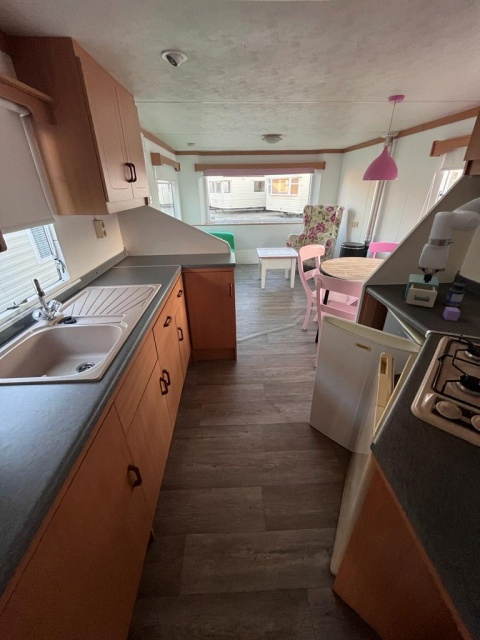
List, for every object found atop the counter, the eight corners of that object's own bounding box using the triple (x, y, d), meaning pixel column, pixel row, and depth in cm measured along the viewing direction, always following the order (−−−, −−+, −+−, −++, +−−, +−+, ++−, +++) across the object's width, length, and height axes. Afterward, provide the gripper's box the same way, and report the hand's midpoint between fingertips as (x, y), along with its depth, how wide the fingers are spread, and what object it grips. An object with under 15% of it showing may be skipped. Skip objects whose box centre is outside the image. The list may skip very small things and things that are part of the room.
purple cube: (454, 316, 121) (457, 307, 119) (457, 320, 117) (460, 311, 115) (442, 315, 122) (445, 306, 120) (445, 319, 119) (448, 310, 117)
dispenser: (432, 303, 135) (438, 285, 130) (404, 298, 140) (409, 281, 136) (432, 293, 146) (437, 276, 141) (405, 289, 152) (410, 273, 147)
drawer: (432, 311, 124) (438, 295, 121) (405, 306, 130) (409, 291, 126) (431, 297, 138) (436, 283, 135) (406, 294, 144) (410, 280, 140)
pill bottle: (443, 302, 135) (450, 281, 130) (458, 304, 133) (466, 283, 127) (444, 306, 131) (452, 285, 126) (459, 308, 128) (468, 287, 123)
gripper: (458, 241, 115) (445, 282, 124) (418, 239, 122) (408, 277, 131) (460, 245, 110) (446, 287, 118) (418, 242, 117) (407, 282, 125)
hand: (426, 282), depth 124 cm, fingers closed
